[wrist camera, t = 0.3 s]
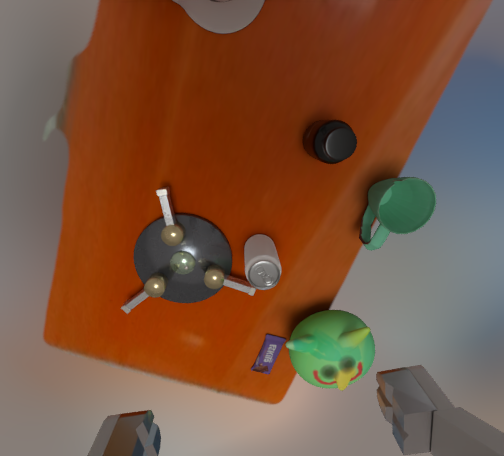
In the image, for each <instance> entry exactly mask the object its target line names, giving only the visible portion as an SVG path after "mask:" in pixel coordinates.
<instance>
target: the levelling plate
mask: <svg viewBox="0 0 504 456" xmlns="http://www.w3.org/2000/svg"><path fill="white" fill-rule="evenodd" d="M174 215H175V219H176V221H178V222H180V223H182V224H183V225H184V227H185V230H186V233H185V236H184V237H183V239H182V241H181V243H180V244H178V245H176V246H169V245H167V244H165V243H164V242H163V240H162V238H161V233H162V231H163V229H164V228H165V226H166V222H165V218H164V216H163V217H161V218H159V219H157V220H155V221H154V222H152V223H151V224H150V225H149V226H148V227H147V228H146V229H145V230H144V231H143V232H142V234H141V235H140V237H139V238H138V240H137V243H136V245H135V249H134V264H135V268H136V271H137V273H138V275H139V277H140V279H141V280H142V282H143V283H144V284H146V282H147V280H148V279H149V277H150V276H151V275H152V274H153V273H162V274H164V275H165V276H166V277H167V279H168V284H167V287H166V289H165V291H164V293H163V294H162V295H161V296H160V297H162V298H164V299H167V300H169V301H173V302H179V303H193V302H198V301H202V300H205V299H207V298H209V297H211V296H213V295H214V294H216V293H217V292H218V291H219V290H220V289H221V288H222V287H223V286H224V285H222V286H221V287H220V288H218V289H211V288H209V287H207V286H206V285H205V283H204V277H205V273H206V269H207V268H208V267H209V266H211V265H214V264H216V265H220V266H221V267H223V269H224V271H225V274H226V275H230V272H231V267H232V252H231V248H230V245H229V242H228V240H227V238H226V237H225V235H224V234H223V233H222V231H221V230H220V229H219V228H218V227H217V226H216V225H214V224H213V223H212V222H210V221H208V220H207V219H205V218H202V217H200V216H197V215H193V214H187V213H176V214H174Z"/></svg>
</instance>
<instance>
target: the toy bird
mask: <svg viewBox="0 0 504 456" xmlns="http://www.w3.org/2000/svg"><path fill="white" fill-rule="evenodd" d="M286 347H287V348H289V355H290V359H291V362H292V365H293V367H294V368H295V370H296V371H297V373H298V374H299V375H300V376H301V377H302V378H303V379H304V380H305V381H307V382H308V383H310V384H312V385H315V386H317V387H322V388H339V390H344V389H345V388H346V387H347V385H350V384H352V383H354V382H356V381H357V380H359V379H360V378H362V377H363V376H364V375H365V374H366V373H367V372H368V370H369V369H370V367H371V365H372V363H373V360H374V356H375V344H374V340H373V336H372V334H371V332H370V328H369V327H367V326H366V324H365V323H364V322H363V321H362V320H361V319H360V318H358V317H357V316H355V315H353V314H351V313H349V312H345V311H341V310H326V311H321V312H317V313H315V314H312V315H310V316H308V317H307V318H305V319H304V320H303V321H301V322H300V323H299V324H298V325H297V326H296V328H295V329H294V331H293V332H292V335H291V337H290V340H289V341H288V342H287V343H286Z"/></svg>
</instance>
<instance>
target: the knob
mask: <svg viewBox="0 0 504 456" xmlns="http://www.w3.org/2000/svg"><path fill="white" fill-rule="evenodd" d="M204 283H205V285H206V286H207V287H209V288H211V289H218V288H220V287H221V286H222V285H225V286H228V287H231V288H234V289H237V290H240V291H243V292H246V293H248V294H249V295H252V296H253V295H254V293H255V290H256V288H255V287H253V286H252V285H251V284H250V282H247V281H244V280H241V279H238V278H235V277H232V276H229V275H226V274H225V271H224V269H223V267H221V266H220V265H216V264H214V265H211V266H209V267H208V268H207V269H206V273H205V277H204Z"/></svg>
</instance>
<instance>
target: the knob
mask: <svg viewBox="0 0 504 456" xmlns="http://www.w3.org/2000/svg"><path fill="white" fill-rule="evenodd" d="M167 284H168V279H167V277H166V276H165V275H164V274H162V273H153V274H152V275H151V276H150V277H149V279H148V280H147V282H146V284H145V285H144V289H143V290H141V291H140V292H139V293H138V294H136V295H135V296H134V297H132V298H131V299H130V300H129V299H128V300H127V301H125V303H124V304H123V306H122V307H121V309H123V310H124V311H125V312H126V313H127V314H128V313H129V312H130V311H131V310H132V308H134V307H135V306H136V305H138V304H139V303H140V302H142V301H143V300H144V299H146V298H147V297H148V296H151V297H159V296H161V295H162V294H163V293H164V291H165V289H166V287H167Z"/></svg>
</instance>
